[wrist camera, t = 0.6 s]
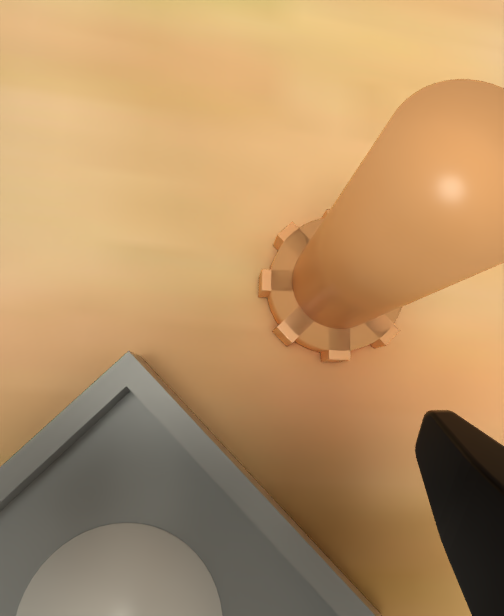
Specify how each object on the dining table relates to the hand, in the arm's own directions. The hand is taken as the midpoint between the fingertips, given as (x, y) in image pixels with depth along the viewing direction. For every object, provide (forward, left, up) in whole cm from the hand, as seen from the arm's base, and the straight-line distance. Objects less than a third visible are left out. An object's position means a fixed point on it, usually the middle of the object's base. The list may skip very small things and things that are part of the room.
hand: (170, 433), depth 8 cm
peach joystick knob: (-1, -9, -14) cm, 16 cm away
